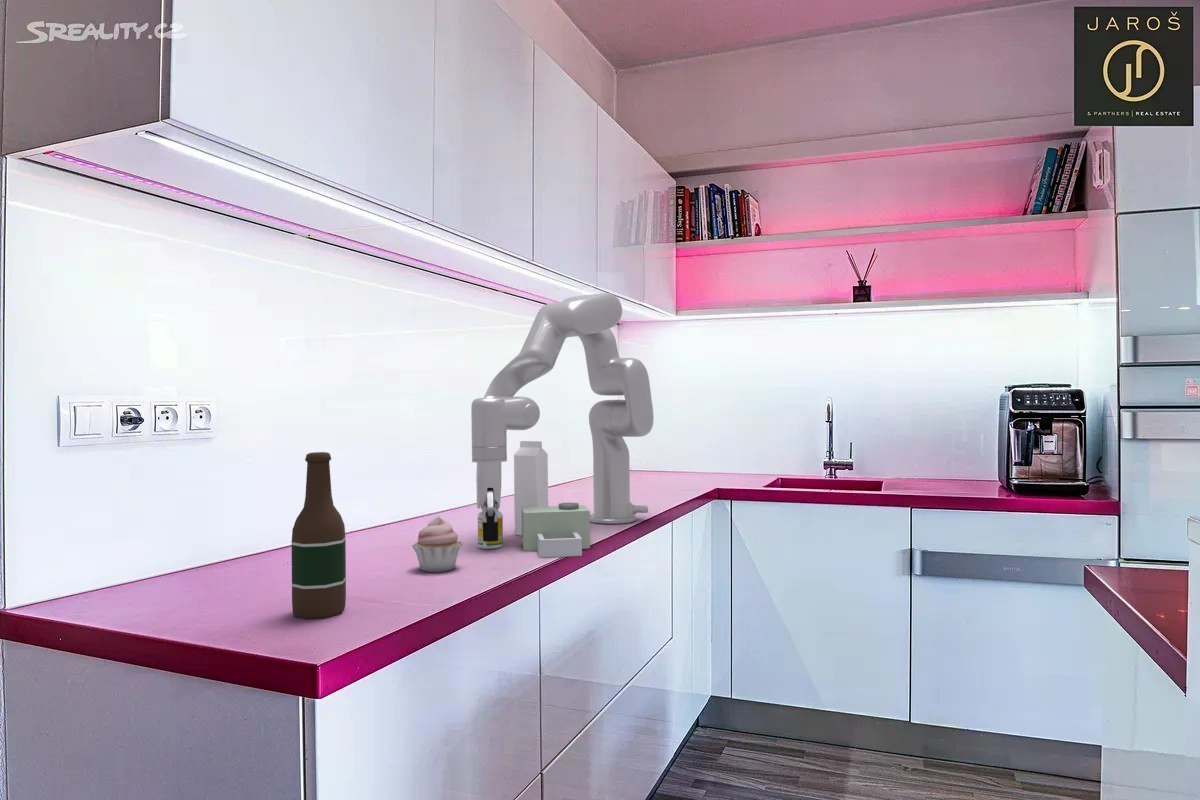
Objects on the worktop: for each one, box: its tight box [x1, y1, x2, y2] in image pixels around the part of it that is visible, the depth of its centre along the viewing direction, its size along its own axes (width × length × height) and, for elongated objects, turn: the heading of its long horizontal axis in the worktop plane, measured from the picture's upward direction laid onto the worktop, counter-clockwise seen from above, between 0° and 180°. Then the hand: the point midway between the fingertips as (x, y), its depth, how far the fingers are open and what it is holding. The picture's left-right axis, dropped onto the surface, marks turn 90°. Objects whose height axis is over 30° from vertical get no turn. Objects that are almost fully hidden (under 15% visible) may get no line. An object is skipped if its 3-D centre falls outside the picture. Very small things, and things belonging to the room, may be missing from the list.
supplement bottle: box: [477, 503, 504, 550], centre depth 165 cm, size 5×5×10 cm
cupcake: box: [411, 515, 464, 573], centre depth 143 cm, size 9×9×10 cm
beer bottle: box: [291, 451, 347, 620], centre depth 114 cm, size 8×8×24 cm
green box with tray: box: [521, 502, 591, 559], centre depth 162 cm, size 14×16×9 cm
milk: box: [513, 440, 549, 536], centre depth 181 cm, size 6×6×22 cm
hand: (490, 537), depth 165 cm, fingers closed on supplement bottle, 5 cm apart
